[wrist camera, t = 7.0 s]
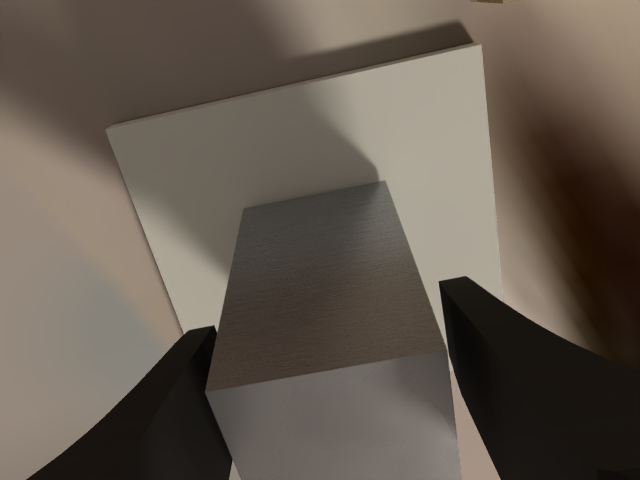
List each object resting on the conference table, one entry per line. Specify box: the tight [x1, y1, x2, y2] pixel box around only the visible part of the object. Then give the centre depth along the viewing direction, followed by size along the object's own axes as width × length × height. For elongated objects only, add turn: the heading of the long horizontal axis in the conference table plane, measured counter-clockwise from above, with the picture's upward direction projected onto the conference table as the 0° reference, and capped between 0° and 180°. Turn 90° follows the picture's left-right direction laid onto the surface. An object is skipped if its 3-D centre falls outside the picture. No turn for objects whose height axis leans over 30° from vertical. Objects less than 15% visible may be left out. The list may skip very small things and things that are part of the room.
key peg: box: [205, 180, 462, 480], centre depth 13 cm, size 4×4×7 cm
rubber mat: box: [105, 42, 503, 371], centre depth 16 cm, size 10×10×1 cm
